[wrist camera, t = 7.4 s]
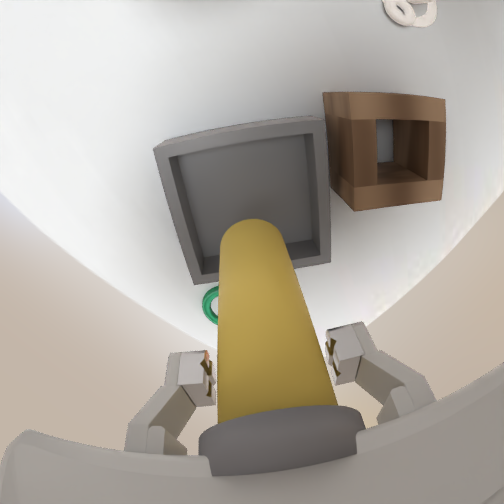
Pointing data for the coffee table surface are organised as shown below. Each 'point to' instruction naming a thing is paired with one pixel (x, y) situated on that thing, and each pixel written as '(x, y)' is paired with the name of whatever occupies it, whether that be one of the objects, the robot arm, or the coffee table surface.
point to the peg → (270, 366)
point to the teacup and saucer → (411, 12)
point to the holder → (405, 148)
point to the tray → (249, 188)
